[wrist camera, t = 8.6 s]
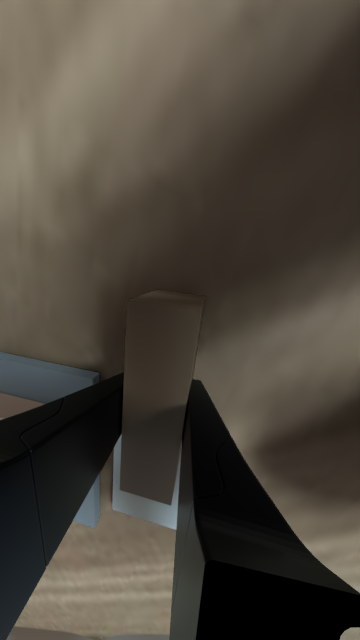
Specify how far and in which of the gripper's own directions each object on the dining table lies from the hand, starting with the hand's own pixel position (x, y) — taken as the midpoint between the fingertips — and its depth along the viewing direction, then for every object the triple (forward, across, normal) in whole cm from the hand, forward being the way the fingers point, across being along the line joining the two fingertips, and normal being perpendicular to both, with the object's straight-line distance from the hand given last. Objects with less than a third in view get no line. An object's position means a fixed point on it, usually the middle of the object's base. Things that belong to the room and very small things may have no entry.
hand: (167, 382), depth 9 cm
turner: (+1, 0, +3) cm, 4 cm away
